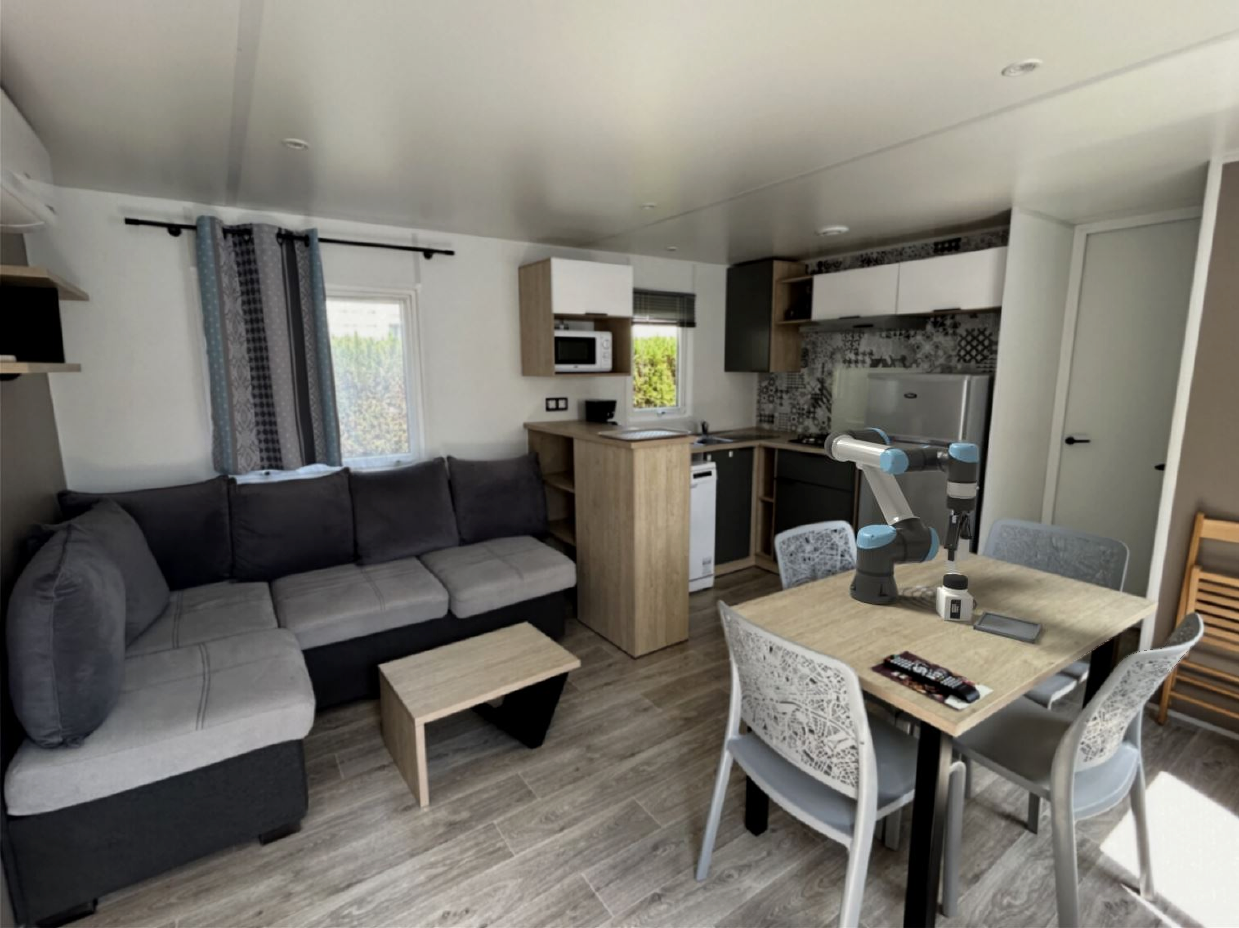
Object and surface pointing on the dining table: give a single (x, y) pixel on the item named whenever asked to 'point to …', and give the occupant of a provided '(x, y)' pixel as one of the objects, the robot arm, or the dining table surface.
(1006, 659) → the dining table surface
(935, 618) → the dining table surface
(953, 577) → the container
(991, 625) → the tray
